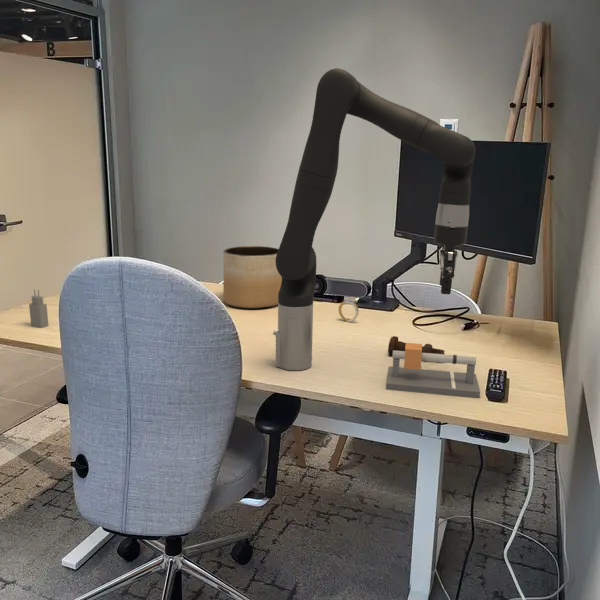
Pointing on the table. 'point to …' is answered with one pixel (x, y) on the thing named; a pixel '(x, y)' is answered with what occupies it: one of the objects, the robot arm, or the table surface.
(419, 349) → the collar
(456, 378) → the pipe stand
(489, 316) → the table surface
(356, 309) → the ring
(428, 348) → the bolt
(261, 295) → the planter
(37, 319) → the power adapter
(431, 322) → the table surface
